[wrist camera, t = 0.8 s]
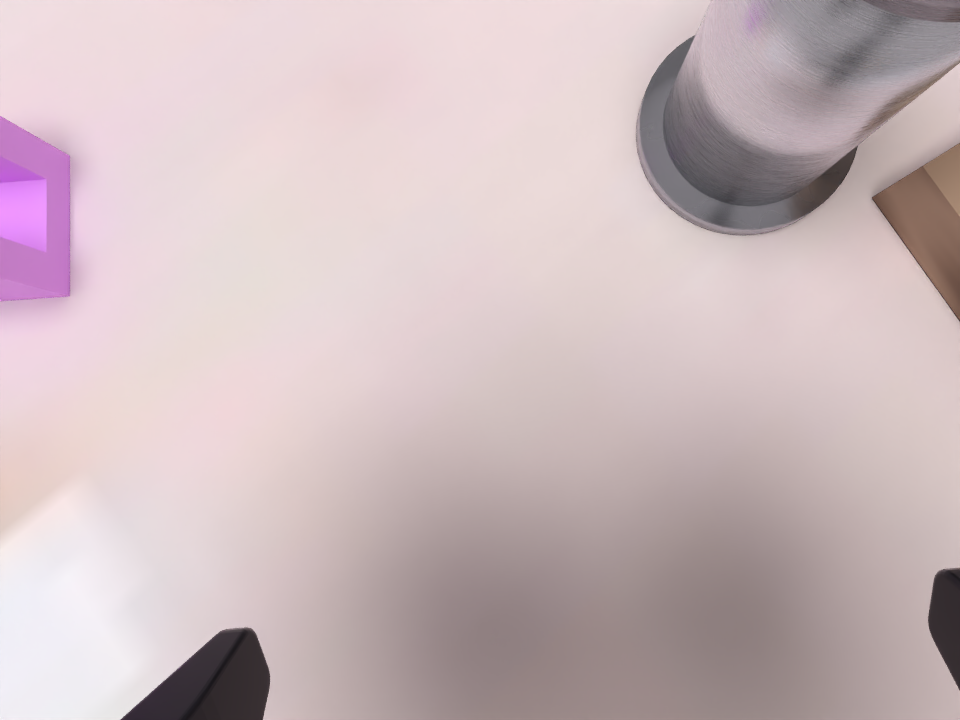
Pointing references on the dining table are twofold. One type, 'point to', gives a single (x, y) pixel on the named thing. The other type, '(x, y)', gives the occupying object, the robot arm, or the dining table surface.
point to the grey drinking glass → (783, 102)
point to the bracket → (33, 216)
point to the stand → (930, 220)
